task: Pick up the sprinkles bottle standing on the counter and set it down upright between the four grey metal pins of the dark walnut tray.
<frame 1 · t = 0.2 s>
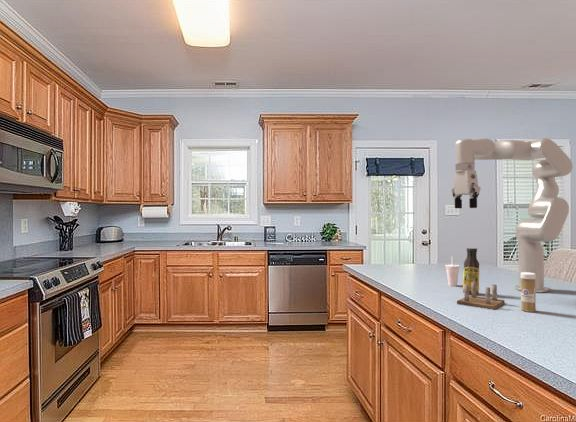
hand: (465, 208, 164), 37 cm above the worktop, tool pointing down, fingers open, 9 cm apart
pin tray: (480, 303, 147), on the worktop
sprinkles bottle: (528, 311, 135), on the worktop
smoothie: (452, 285, 183), on the worktop
sauce bottle: (471, 294, 164), on the worktop
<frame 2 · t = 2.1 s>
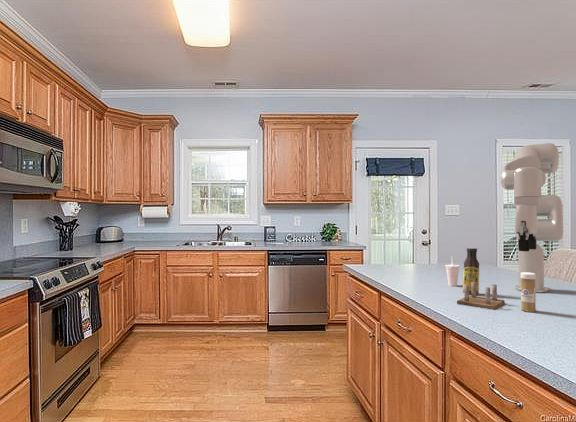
hand: (527, 250, 135), 22 cm above the worktop, tool pointing down, fingers open, 9 cm apart
nothing on the worktop moved.
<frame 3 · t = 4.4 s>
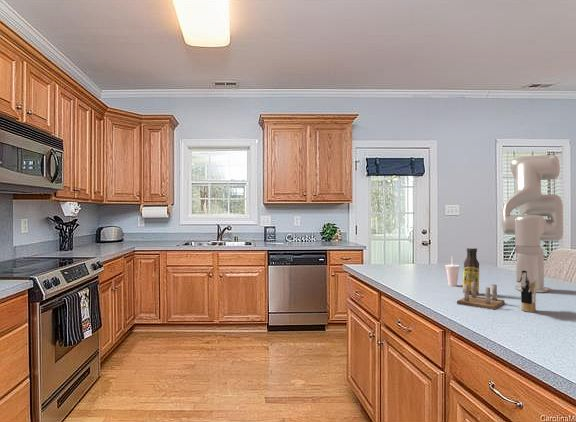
hand: (528, 301, 135), 3 cm above the worktop, tool pointing down, fingers closed on sprinkles bottle, 4 cm apart
sprinkles bottle: (528, 311, 135), on the worktop, touching gripper
everything else where it was.
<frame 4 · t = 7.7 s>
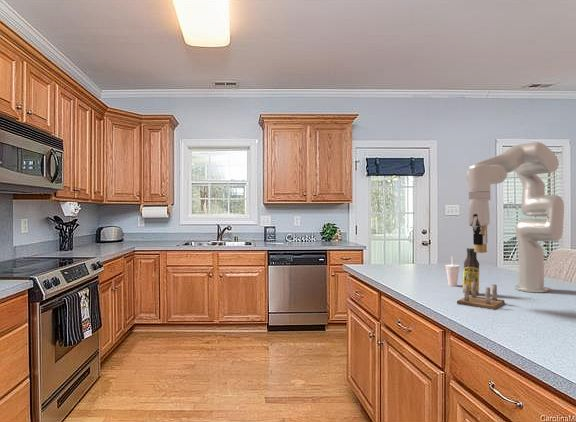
hand: (480, 243, 147), 23 cm above the worktop, tool pointing down, fingers closed on sprinkles bottle, 4 cm apart
sprinkles bottle: (480, 252, 147), point 20 cm above the worktop, touching gripper
everything else where it was.
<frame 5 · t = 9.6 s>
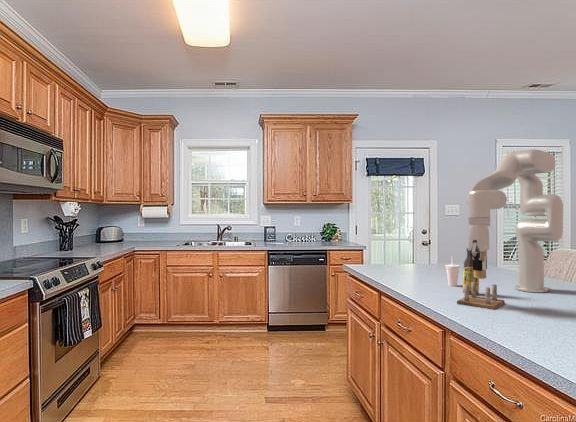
hand: (480, 269, 147), 13 cm above the worktop, tool pointing down, fingers closed on sprinkles bottle, 4 cm apart
sprinkles bottle: (480, 278, 147), point 10 cm above the worktop, touching gripper
everything else where it was.
when the fingers open (6 cm above the worktop, at t = 11.3 s): sprinkles bottle drops 2 cm, resting on pin tray.
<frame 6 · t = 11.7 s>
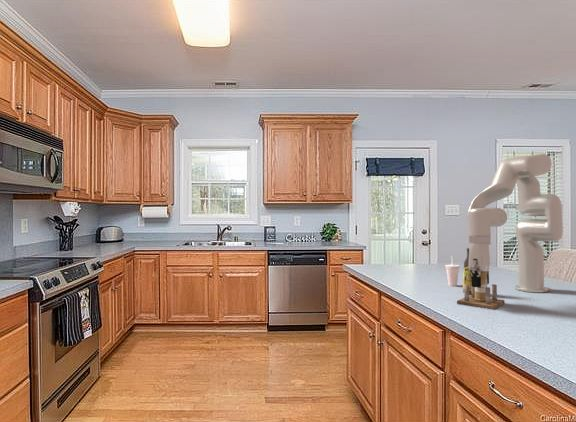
hand: (480, 285, 147), 7 cm above the worktop, tool pointing down, fingers open, 8 cm apart
sprinkles bottle: (481, 300, 147), point 1 cm above the worktop, touching pin tray
everything else where it was.
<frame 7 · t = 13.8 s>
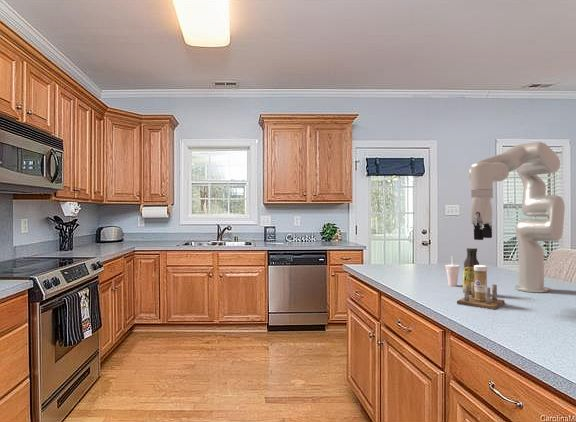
hand: (483, 238, 147), 25 cm above the worktop, tool pointing down, fingers open, 9 cm apart
nothing on the worktop moved.
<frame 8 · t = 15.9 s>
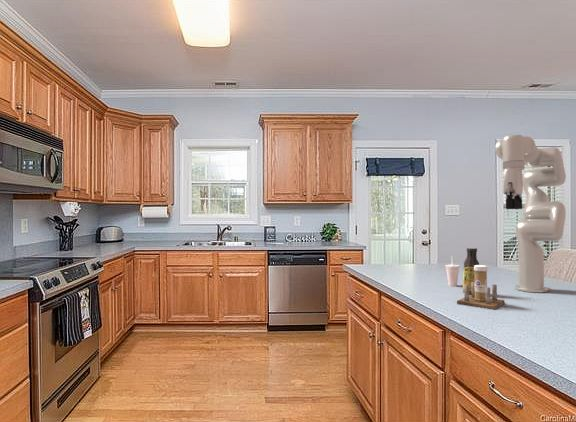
hand: (514, 209, 153), 36 cm above the worktop, tool pointing down, fingers open, 9 cm apart
nothing on the worktop moved.
at the end: sprinkles bottle 0.3 cm off-centre on the pin tray, point 1.0 cm above the pin tray's base; sprinkles bottle tilted 0°; the gripper is holding nothing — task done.
